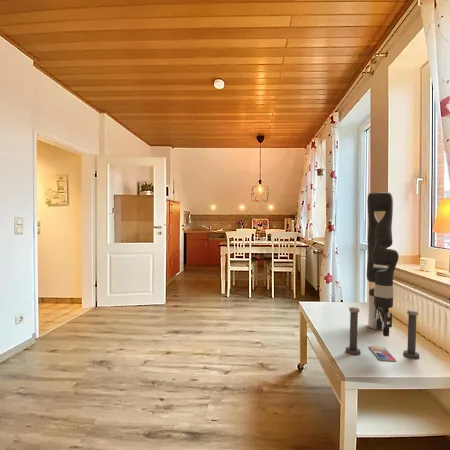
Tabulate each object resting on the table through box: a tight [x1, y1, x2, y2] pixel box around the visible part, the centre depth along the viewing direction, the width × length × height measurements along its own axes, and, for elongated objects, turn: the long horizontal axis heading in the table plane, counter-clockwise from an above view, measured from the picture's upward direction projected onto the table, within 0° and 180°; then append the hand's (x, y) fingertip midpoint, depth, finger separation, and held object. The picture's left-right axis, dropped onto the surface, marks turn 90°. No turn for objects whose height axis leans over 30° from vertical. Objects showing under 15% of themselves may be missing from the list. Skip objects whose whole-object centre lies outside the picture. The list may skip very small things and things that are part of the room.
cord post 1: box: [345, 306, 361, 356], centre depth 147 cm, size 6×6×19 cm
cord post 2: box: [402, 309, 420, 360], centre depth 145 cm, size 6×6×19 cm
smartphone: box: [368, 345, 398, 363], centre depth 146 cm, size 7×1×15 cm
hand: (382, 332), depth 146 cm, fingers open, 8 cm apart
